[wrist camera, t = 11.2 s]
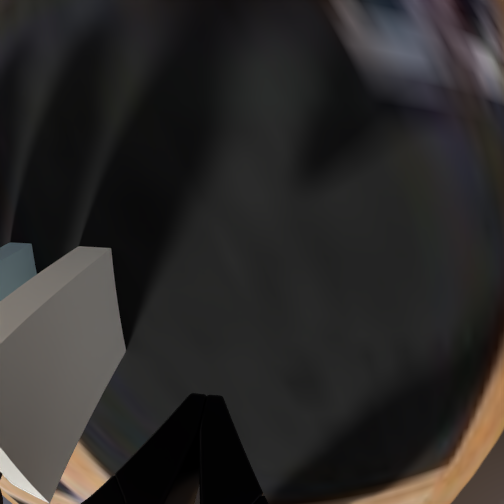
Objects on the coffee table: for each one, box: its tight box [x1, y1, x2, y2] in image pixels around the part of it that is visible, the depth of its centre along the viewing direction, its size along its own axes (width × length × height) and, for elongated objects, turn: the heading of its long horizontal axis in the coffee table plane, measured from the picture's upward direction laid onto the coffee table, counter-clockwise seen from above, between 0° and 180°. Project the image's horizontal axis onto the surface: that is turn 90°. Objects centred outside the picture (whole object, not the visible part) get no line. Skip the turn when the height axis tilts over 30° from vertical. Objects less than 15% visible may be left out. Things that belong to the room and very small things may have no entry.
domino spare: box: [0, 246, 126, 503], centre depth 8 cm, size 2×5×8 cm, turn 177°
